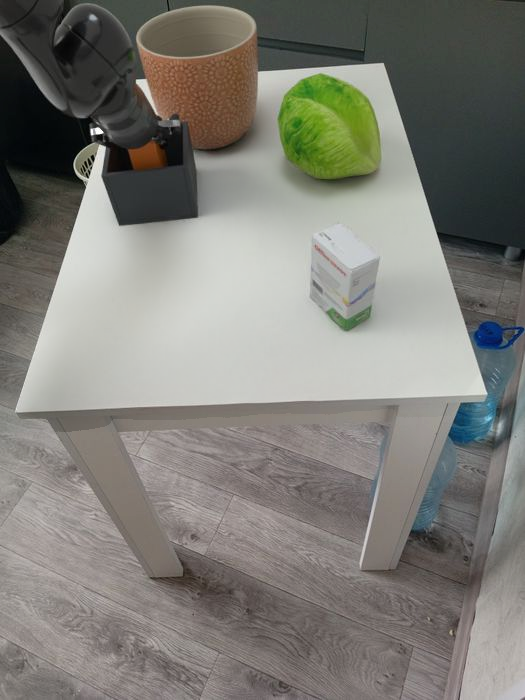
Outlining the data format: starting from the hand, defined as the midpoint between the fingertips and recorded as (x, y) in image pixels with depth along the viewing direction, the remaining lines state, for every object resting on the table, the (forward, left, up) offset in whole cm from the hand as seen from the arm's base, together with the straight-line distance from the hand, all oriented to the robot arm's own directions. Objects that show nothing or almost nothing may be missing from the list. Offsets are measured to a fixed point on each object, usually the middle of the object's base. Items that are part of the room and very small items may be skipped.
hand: (147, 144), depth 85 cm
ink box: (+27, -32, -9) cm, 43 cm away
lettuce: (+31, +1, -9) cm, 32 cm away
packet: (0, -2, -6) cm, 6 cm away
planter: (+10, +17, -9) cm, 22 cm away
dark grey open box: (0, -2, -9) cm, 9 cm away
